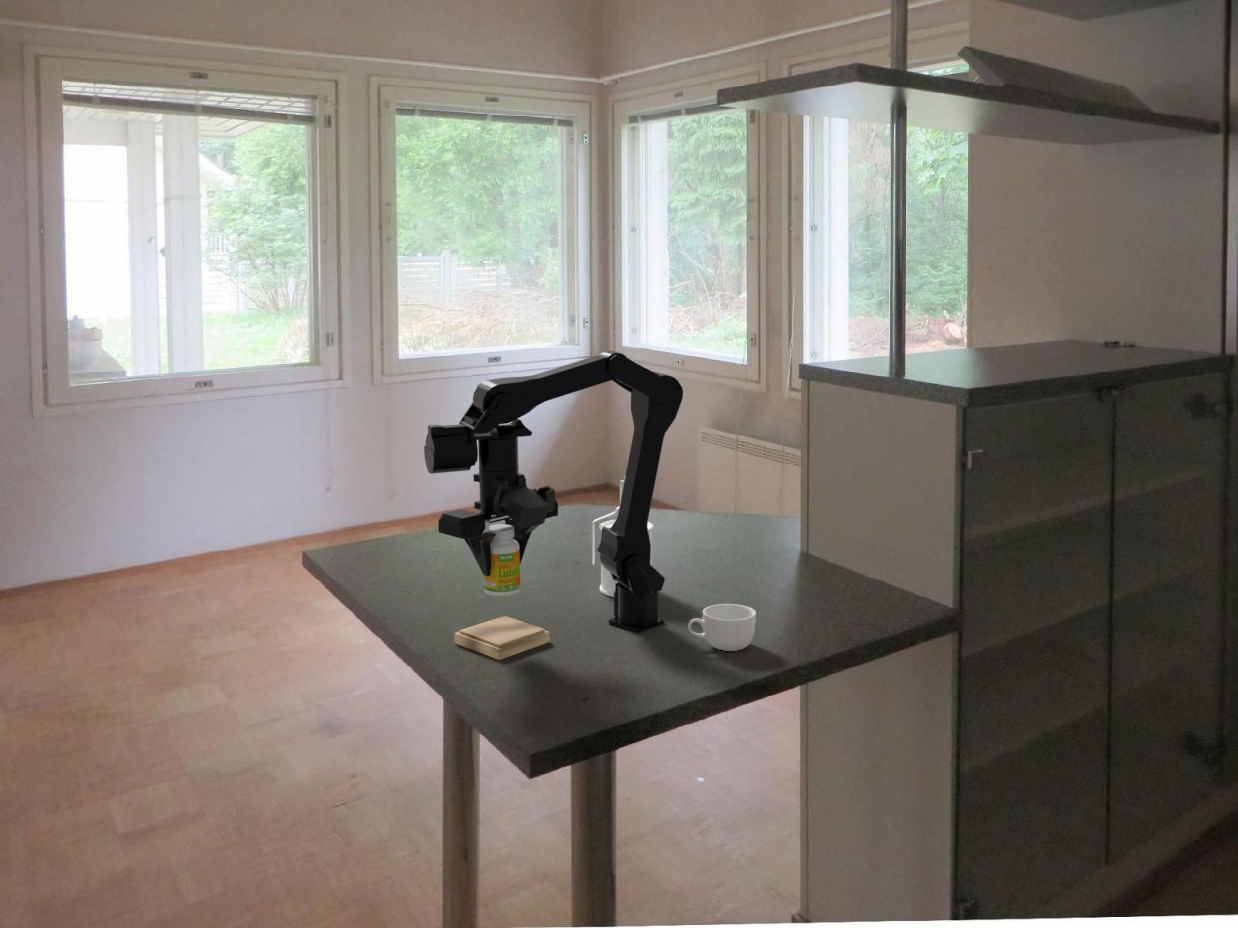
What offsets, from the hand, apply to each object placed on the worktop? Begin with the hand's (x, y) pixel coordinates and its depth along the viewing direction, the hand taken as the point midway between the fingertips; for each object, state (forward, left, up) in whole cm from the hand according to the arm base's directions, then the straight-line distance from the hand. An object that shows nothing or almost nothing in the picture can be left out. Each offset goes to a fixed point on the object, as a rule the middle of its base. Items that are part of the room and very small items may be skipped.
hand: (501, 571), depth 164 cm
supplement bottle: (0, 0, -3) cm, 3 cm away
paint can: (+4, -31, -11) cm, 33 cm away
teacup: (-25, -21, -11) cm, 34 cm away
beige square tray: (0, 0, -11) cm, 11 cm away
